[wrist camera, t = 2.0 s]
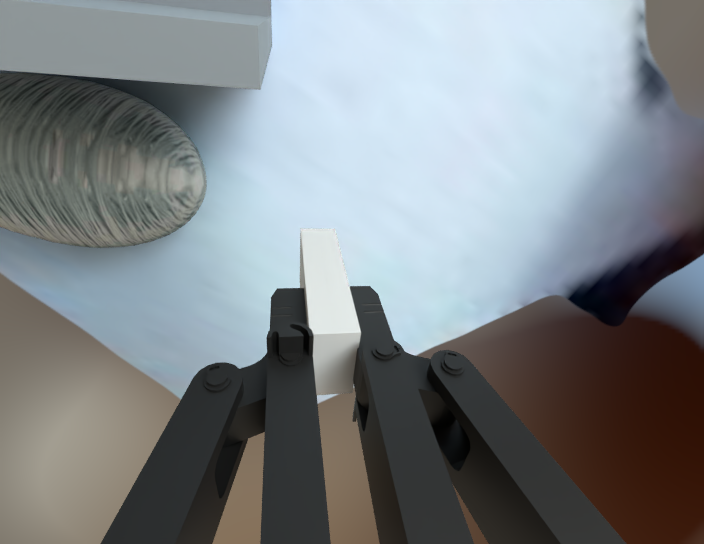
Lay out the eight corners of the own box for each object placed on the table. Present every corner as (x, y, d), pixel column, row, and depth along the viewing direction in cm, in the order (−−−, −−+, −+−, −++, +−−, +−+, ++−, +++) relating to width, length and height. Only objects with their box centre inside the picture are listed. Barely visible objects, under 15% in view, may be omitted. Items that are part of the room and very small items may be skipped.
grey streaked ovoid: (-45, 225, 23) (-147, 239, 15) (-39, 67, 22) (-144, -13, 14) (189, 248, 30) (210, 267, 22) (201, 129, 29) (228, 100, 21)
